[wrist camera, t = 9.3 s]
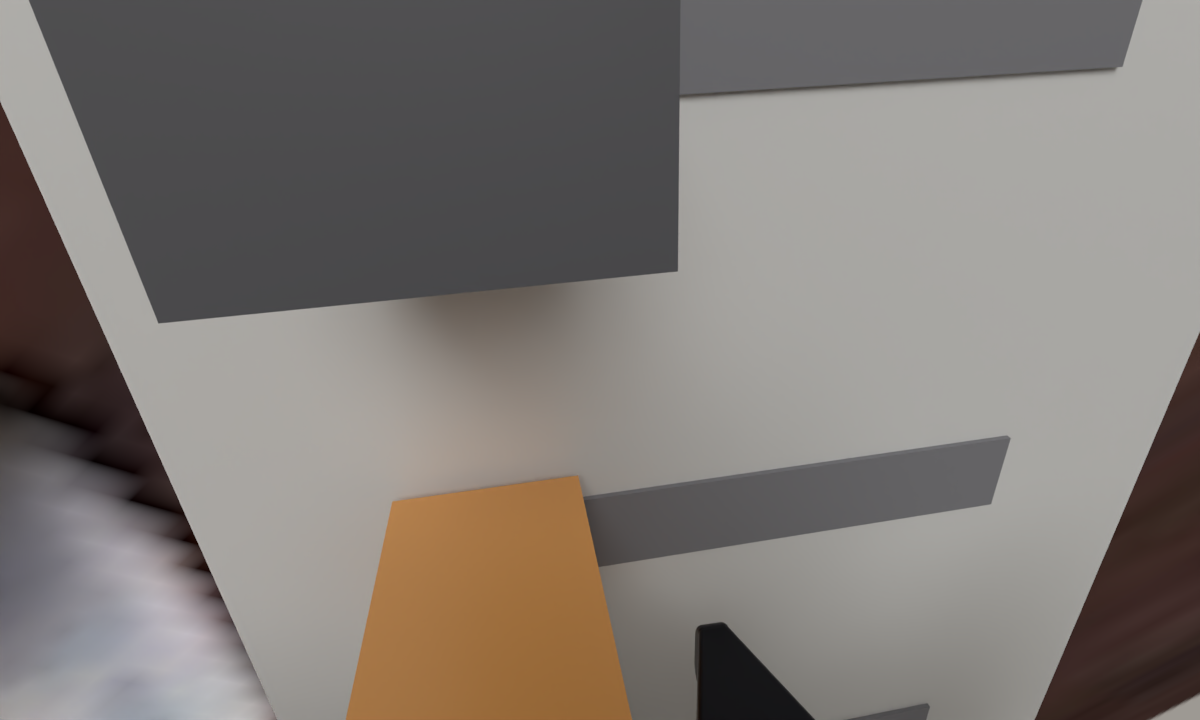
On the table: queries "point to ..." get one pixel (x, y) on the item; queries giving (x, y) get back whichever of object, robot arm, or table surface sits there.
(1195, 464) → the table surface
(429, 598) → the block
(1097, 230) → the breaker panel
